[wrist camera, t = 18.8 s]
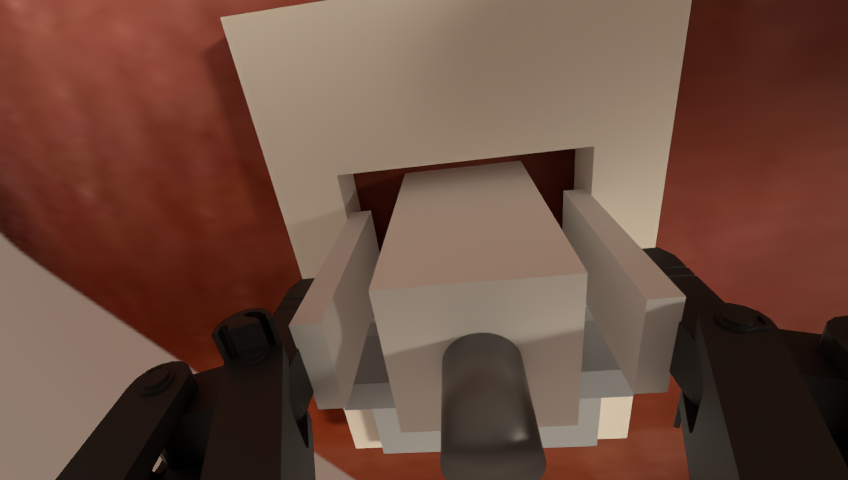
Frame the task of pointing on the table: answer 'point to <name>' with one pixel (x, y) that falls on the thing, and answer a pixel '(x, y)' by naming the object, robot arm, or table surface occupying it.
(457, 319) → the plug
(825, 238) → the table surface
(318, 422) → the table surface
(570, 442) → the shutter
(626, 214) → the socket plate
